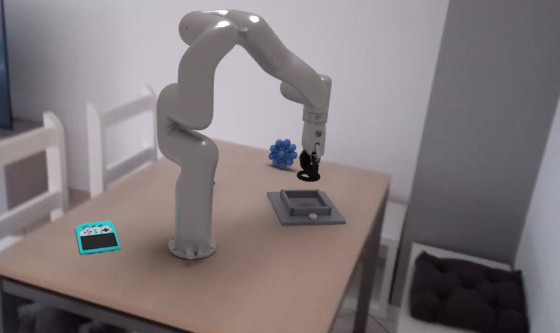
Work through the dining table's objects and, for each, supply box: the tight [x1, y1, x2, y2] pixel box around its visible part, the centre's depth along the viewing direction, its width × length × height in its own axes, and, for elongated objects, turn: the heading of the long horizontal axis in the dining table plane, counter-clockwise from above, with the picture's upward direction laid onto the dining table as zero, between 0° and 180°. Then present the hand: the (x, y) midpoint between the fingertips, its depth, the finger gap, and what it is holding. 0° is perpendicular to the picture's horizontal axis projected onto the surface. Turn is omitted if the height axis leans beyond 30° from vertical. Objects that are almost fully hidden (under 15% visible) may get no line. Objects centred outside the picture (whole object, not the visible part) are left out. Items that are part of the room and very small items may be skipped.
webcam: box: [296, 150, 322, 183], centre depth 166 cm, size 8×8×10 cm
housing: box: [266, 188, 347, 226], centre depth 171 cm, size 22×20×4 cm
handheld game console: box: [75, 220, 122, 256], centre depth 143 cm, size 10×16×1 cm, turn 24°
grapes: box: [268, 138, 298, 170], centre depth 201 cm, size 12×7×12 cm, turn 64°
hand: (309, 170), depth 167 cm, fingers closed on webcam, 6 cm apart
